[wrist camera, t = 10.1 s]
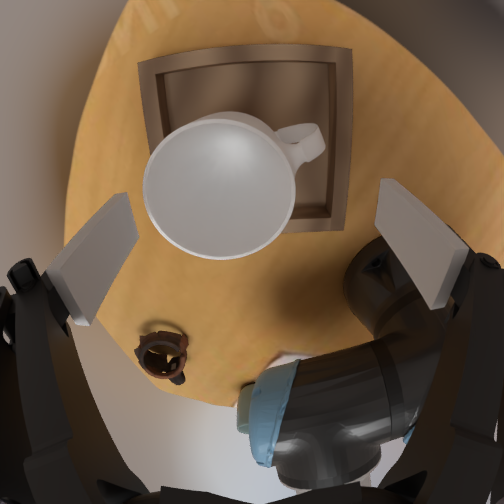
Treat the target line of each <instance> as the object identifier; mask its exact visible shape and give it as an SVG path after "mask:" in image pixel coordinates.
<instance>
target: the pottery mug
mask: <svg viewBox="0 0 504 504" xmlns="http://www.w3.org/2000/svg"><path fill="white" fill-rule="evenodd" d="M139 337H140V345H139V346H138V348H136V349H134V352H135V355H136V356H137V358H138V360H139V361H138V362H139V364H140V365H141V366H142V368H143V369H144V370H145V371H146V372H147V373H148V374H149V375H151V376H154V377H155V378H159V379H169V380H170V381H171V382H172V383H174V384H176V385H181V384H183V383H184V382H185V375H184V373H183V371H182V370H183V368H184V366H185V362H186V358H187V351H186V348H187V346H188V339H187V338H186V336H185V335H184V334H183V335H182V336H181V335H180V334H177V333H172V332H167V331H158V333H156V332H153V333H150V334H148V335H146V336H139ZM155 345H166V346H169V347H171V348H173V349H175V350H176V351H177V352H179V350H180V352H181V355H180V357H179V356H178V357H173V358H172V359H171V360H170V361H169V363H168V362H167V354H156V353H153V352H151V351H149V350H148V349H149V348H150V347H152V346H155ZM162 372H166V373H162Z"/></svg>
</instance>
